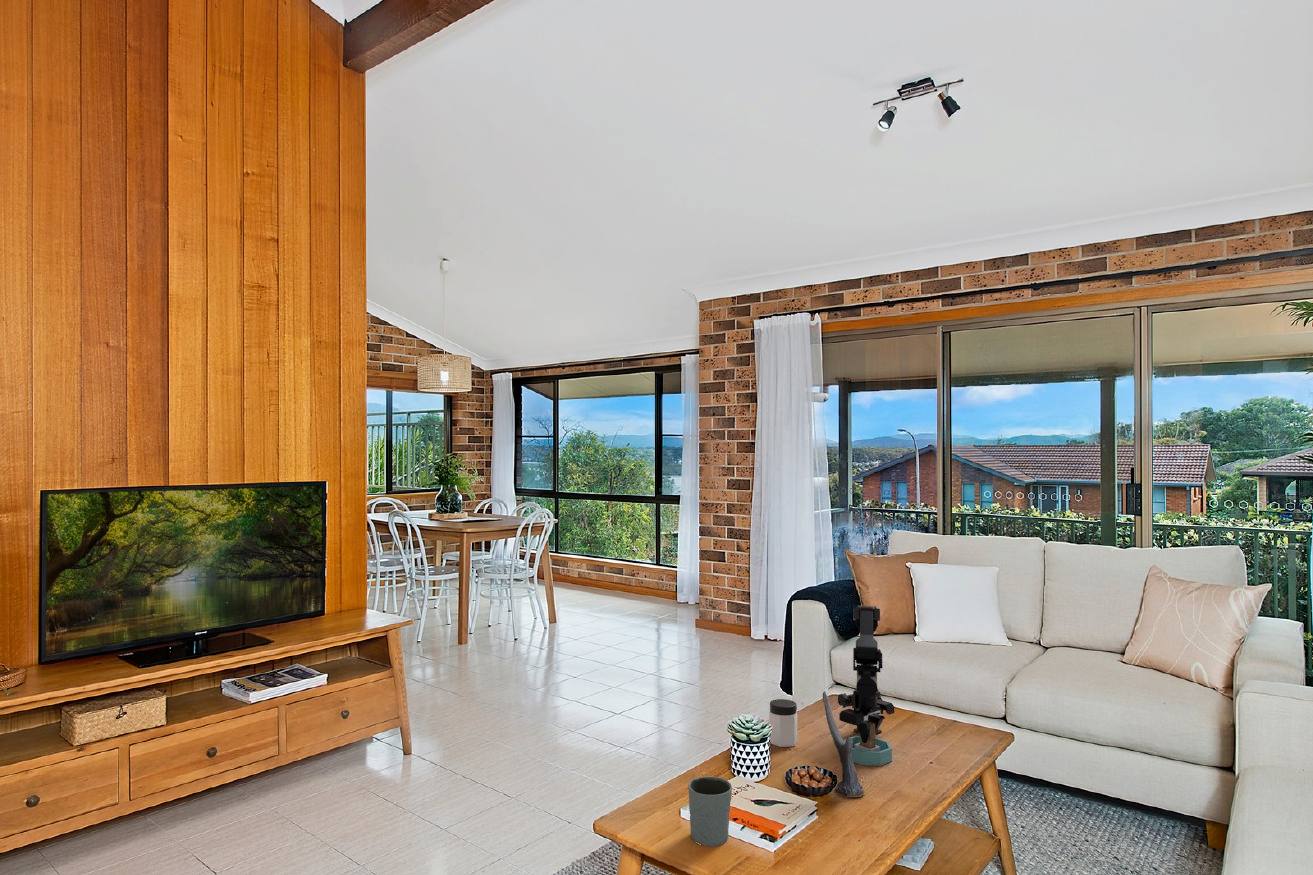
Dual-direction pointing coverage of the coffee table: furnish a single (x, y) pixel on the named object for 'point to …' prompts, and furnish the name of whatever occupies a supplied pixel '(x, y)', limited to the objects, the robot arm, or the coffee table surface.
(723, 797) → the grey cup
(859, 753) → the dish
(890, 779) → the coffee table surface
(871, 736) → the brown wooden block
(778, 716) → the jar
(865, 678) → the robot arm
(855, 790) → the antler
